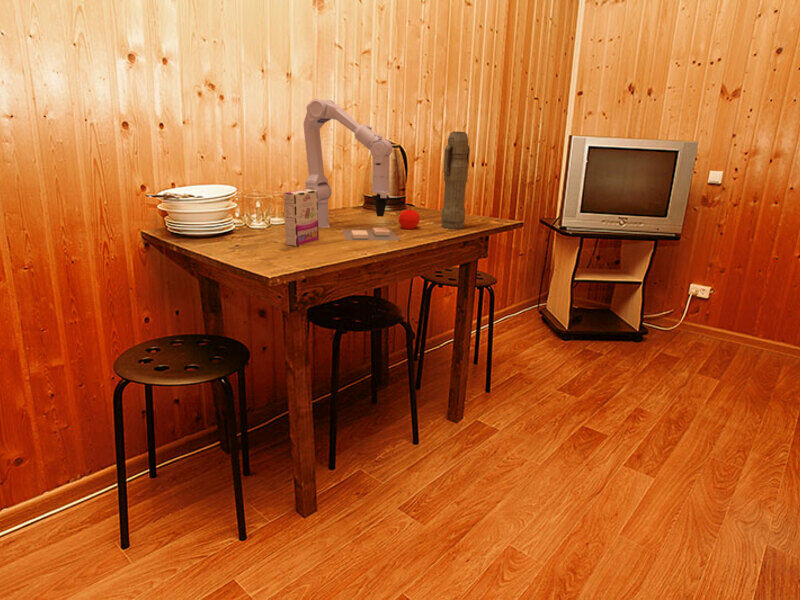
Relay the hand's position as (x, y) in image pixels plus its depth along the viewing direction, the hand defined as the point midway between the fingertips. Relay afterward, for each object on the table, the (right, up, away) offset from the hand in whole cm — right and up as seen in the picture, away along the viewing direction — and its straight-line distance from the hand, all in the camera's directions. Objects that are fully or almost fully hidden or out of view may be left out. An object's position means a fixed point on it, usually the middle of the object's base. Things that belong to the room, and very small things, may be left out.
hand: (380, 216), depth 188 cm
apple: (+10, -3, +11) cm, 16 cm away
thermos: (+27, -1, +19) cm, 33 cm away
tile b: (0, -5, +1) cm, 5 cm away
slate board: (-3, -7, -3) cm, 9 cm away
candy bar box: (-24, -11, -16) cm, 31 cm away
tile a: (-7, -6, -5) cm, 11 cm away
